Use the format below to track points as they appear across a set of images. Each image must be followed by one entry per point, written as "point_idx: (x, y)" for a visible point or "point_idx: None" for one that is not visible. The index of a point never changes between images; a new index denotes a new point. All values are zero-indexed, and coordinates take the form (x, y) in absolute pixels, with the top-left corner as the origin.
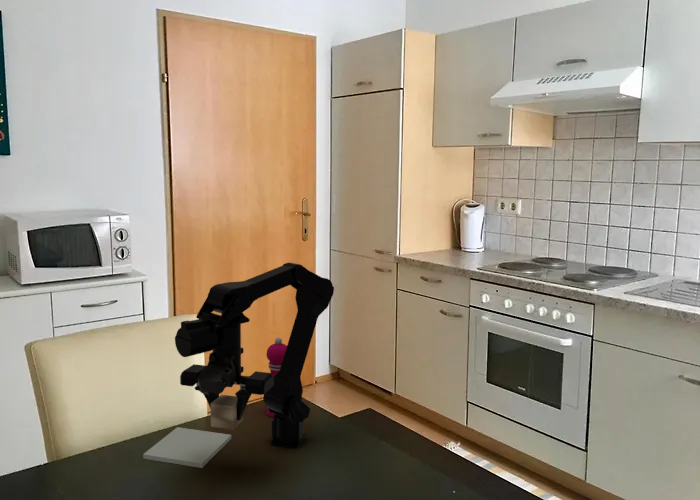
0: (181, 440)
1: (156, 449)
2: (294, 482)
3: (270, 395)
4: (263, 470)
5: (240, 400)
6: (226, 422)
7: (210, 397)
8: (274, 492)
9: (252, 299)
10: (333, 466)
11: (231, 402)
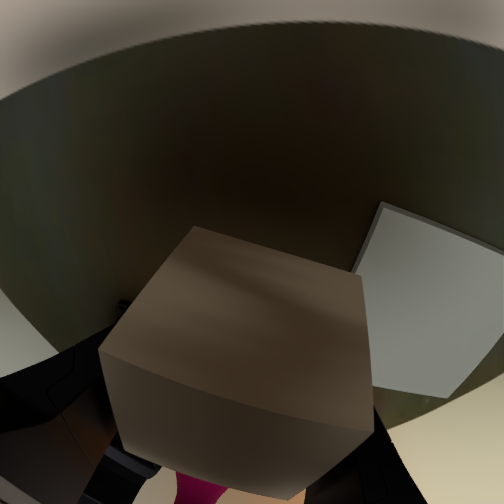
0: (447, 346)
1: None
2: (74, 127)
3: (112, 445)
4: (166, 184)
5: (37, 391)
6: (229, 264)
7: (370, 491)
8: (108, 63)
9: None
10: (30, 214)
11: (157, 419)
